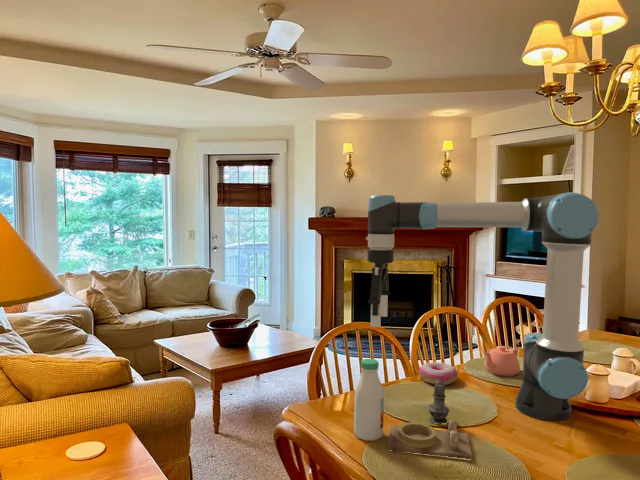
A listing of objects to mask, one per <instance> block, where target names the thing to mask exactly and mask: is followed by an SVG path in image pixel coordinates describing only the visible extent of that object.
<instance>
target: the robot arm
mask: <svg viewBox="0 0 640 480" xmlns="http://www.w3.org/2000/svg"><path fill="white" fill-rule="evenodd" d="M367 208H368V209H367V236H366V238H365V240H366V241H367V247H368V248H369V249H367V258H366V259H367V262H368V263H371V264H373V263H374V267H372V268H371V285H370V292H369V293H370V294H369V300H367V304H370V325H369V326H370V327H371V328H381V326H382V325H381V320H382V319H381V318H382V317H383V318H385V317H386V318H387V317H388V310H389V309H388V305H389V304H388V303H389V300H388V297H389V295H391V290H390V288H389V267H388V266H389V264H391V263H393V262H394V260H395V259H394V254H395V251H394V249H393V248H395V229H406V230H407V229H409V230H410V229H412V230H414V229H415V230H434V229H436V228H521V229H522V230H523V232H531V231H532V232H538V233H539V232H541V233H542V234H541V244H542V245H544V247H545V248H546V249H547V256H546V269H545V270H546V271H545V272H546V273H545V286H544V287H545V288H544V305H543V307H544V308H543V322H542V323H543V324H542V333H538V332H532V333H531V332H529V333H527V334H525V335H524V341H523V360H522V361H523V363H522V365H523V366H522V382H521V385H520V387H519V389H518V391H517V394H516V397H515V408H516V409H517V410H518V411H519V412H521V413H523V414H525V415H527V416H530V417H532V418H534V419H535V418H537V419H539V420H540V419H541V420H545V421H546V420H547V421H563V420H568V419H569V418H570V417H571V416H572V406H571V403H570V400H569V399H572V398H574V397H577V396H579V395H580V394H581V393H583V392H584V391H585V390H586V387H587V385H588V383H589V375H588V372H587V368H586V367H585V365H584V356H585V355H584V353H585V347H584V345H582V343H581V342H580V340H579V332H580V331H579V329H580V328H579V327H580V316H581V315H580V313H581V302H582V301H581V299H582V284H583V268H584V252H585V251H586V250H587V249H588V248H589V247H590V246H592V236H593V235H592V233H593V232H594V231H595V229H596V228H597V226H598V223H599V220H600V212H599V209H598V206H597V205H596V204H595V202H594V201H593V200H592V199H591V198H590V197H588V196H587V195H585V194H582V193H579V192H578V193H577V192H573V191H570V192H562V193H557V194H552V195H551V194H550V195H545V196H540V197H531V198H530V197H529V198H526V197H525V198H523V199H522V200H521V201H495V202H494V201H489V202H487V201H484V202H483V201H482V202H481V201H480V202H479V201H478V202H476V201H475V202H472V201H471V202H428V201H424V202H423V201H421V202H419V201H418V202H414V201H413V202H411V201H410V202H405V201H404V202H402V201H401V202H400V201H396V198H395V196H394V195H393V194H373V195H371V196H370V197H369V199H368V207H367Z"/></svg>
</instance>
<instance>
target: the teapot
mask: <svg viewBox="0 0 640 480" xmlns="http://www.w3.org/2000/svg"><path fill="white" fill-rule="evenodd" d="M484 353H485V360H484V364H483V365H484V368H485V370H486V371H487V372H488V371H489V372H488V373H491V374H492V373H493V374H492V375H496V376H499V377H513V375H514V376H516V375H517V374H519V373H520V370H521V365H520V361H519V358H518V354H519V350H518V349H517V348H512V349H508V348H507V347H506V346H505V345H500V346H498V347H494V348H491V349H490V351H489V352H488V351H484Z"/></svg>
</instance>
